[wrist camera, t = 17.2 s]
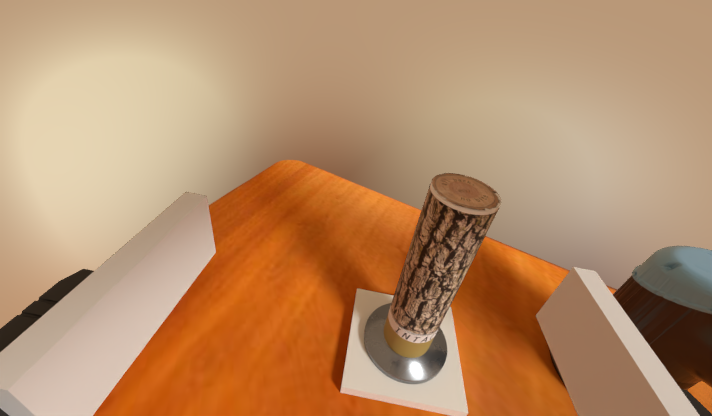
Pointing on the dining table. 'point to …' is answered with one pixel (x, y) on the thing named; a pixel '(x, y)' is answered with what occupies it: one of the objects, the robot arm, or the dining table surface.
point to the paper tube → (438, 259)
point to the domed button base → (401, 362)
